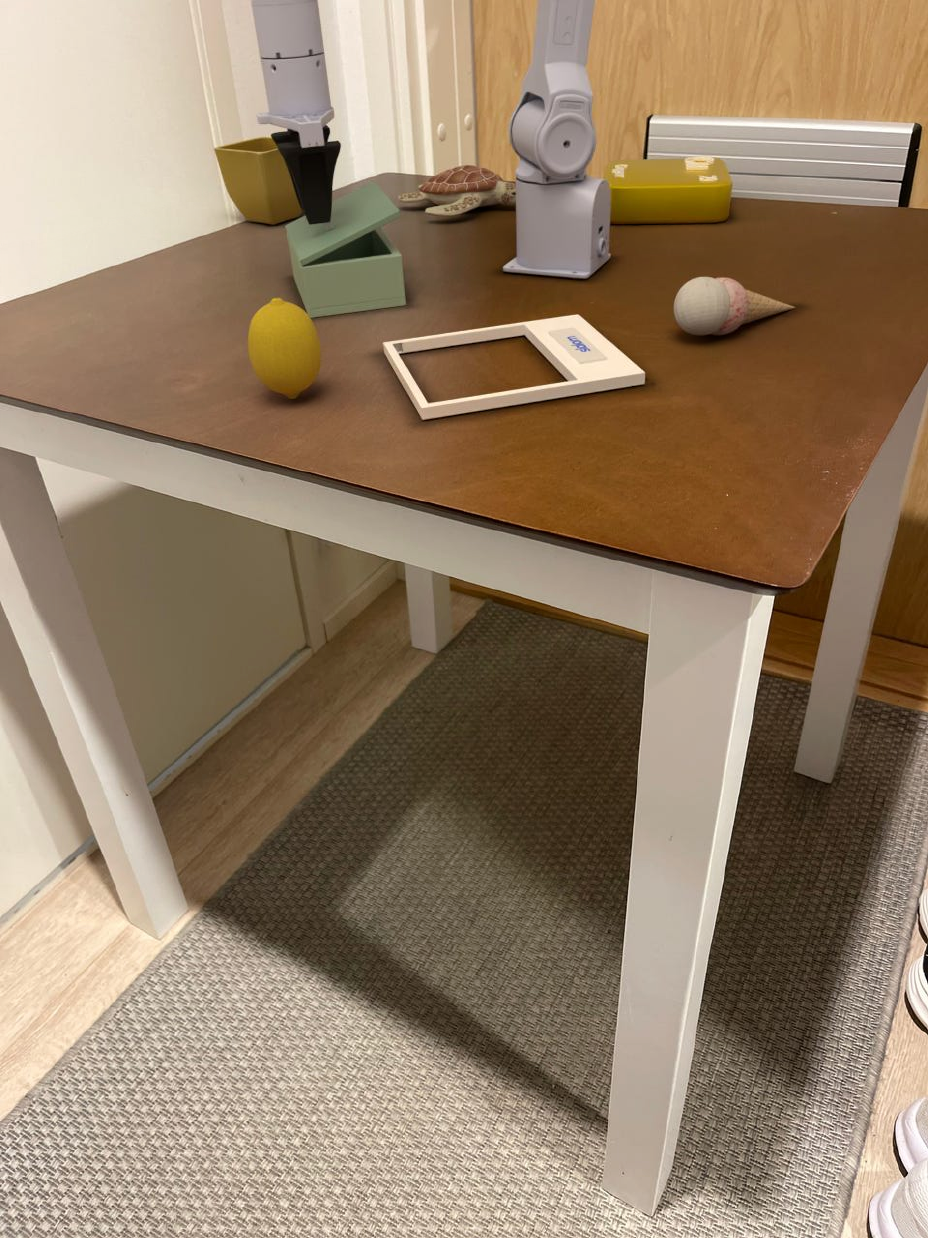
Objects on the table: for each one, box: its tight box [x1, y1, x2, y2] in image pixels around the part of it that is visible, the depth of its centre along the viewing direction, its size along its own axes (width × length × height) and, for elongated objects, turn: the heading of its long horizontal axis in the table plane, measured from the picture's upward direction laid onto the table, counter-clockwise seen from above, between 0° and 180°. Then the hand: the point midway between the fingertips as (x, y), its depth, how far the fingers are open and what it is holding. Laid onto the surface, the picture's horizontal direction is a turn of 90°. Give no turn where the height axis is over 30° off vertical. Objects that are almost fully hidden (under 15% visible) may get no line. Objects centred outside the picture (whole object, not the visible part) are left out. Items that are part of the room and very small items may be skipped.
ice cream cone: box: [673, 276, 796, 336], centre depth 82 cm, size 5×5×15 cm
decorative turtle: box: [397, 164, 516, 217], centre depth 121 cm, size 18×17×5 cm
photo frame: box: [382, 314, 646, 421], centre depth 77 cm, size 15×1×18 cm
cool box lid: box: [284, 180, 402, 266], centre depth 91 cm, size 10×14×5 cm
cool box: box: [286, 227, 407, 319], centre depth 95 cm, size 10×14×5 cm
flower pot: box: [213, 136, 303, 226], centre depth 120 cm, size 9×9×9 cm
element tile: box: [603, 156, 733, 225], centre depth 115 cm, size 15×15×5 cm
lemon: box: [247, 297, 322, 400], centre depth 73 cm, size 6×6×8 cm
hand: (315, 215), depth 92 cm, fingers closed on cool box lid, 5 cm apart
